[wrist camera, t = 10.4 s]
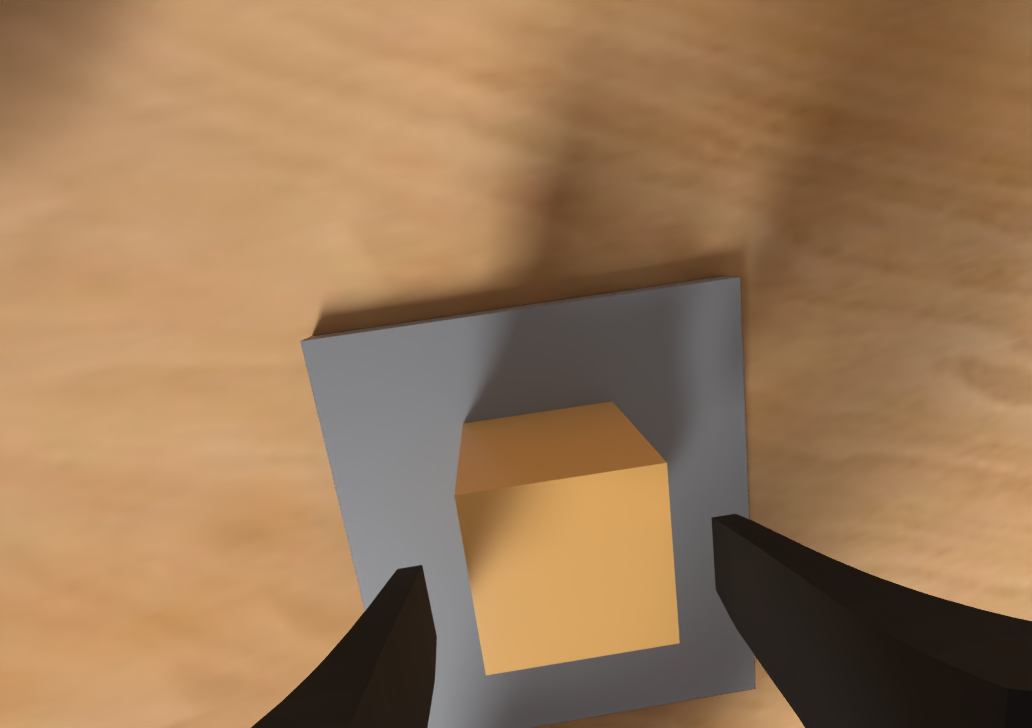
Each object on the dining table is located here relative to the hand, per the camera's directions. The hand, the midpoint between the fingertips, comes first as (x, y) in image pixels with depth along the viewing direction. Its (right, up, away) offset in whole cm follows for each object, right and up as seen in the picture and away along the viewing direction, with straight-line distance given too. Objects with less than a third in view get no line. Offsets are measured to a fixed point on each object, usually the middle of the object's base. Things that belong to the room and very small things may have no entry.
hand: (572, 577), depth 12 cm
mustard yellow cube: (0, +1, +5) cm, 5 cm away
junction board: (0, -1, +6) cm, 6 cm away
